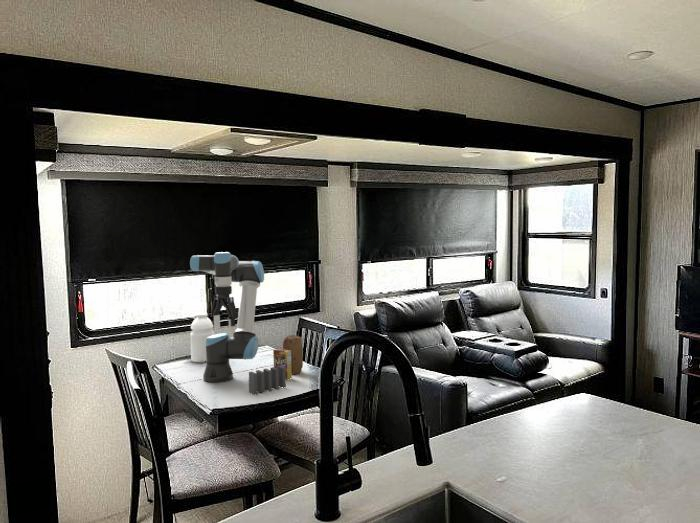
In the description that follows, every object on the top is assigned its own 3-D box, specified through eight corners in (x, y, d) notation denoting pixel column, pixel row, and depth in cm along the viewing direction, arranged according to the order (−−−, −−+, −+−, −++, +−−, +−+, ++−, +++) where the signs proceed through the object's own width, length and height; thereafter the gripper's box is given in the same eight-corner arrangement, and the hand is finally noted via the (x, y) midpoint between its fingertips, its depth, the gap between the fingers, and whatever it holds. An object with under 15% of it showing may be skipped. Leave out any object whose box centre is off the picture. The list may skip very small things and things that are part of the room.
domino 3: (263, 389, 267) (263, 369, 267) (266, 388, 268) (266, 368, 268) (268, 391, 264) (268, 371, 263) (271, 390, 265) (271, 370, 264)
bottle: (195, 356, 332) (194, 311, 330) (217, 356, 332) (216, 311, 330) (187, 362, 318) (186, 315, 316) (211, 362, 318) (209, 315, 316)
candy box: (273, 378, 286) (272, 349, 284) (278, 376, 289) (277, 347, 288) (287, 380, 281) (286, 351, 280) (292, 378, 285) (291, 349, 284)
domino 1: (249, 392, 262) (248, 372, 262) (252, 391, 263) (251, 371, 263) (254, 394, 259) (253, 374, 258) (257, 394, 260) (256, 373, 259)
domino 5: (277, 385, 272) (277, 366, 272) (280, 385, 273) (280, 365, 273) (283, 388, 269) (282, 368, 268) (285, 387, 270) (285, 367, 269)
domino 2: (256, 390, 265) (256, 370, 264) (259, 390, 266) (259, 370, 265) (261, 393, 261) (261, 372, 260) (264, 392, 262) (264, 372, 261)
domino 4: (270, 387, 270) (270, 367, 269) (273, 386, 271) (273, 367, 270) (276, 389, 266) (275, 369, 265) (278, 389, 267) (278, 369, 266)
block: (304, 373, 295) (303, 336, 293) (293, 375, 290) (292, 338, 288) (292, 369, 303) (291, 333, 301) (281, 371, 298) (280, 335, 296)
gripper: (202, 284, 258) (204, 328, 260) (230, 288, 240) (231, 336, 241) (217, 282, 263) (218, 326, 265) (244, 287, 245) (245, 333, 246)
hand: (224, 331), depth 253 cm, fingers open, 13 cm apart
